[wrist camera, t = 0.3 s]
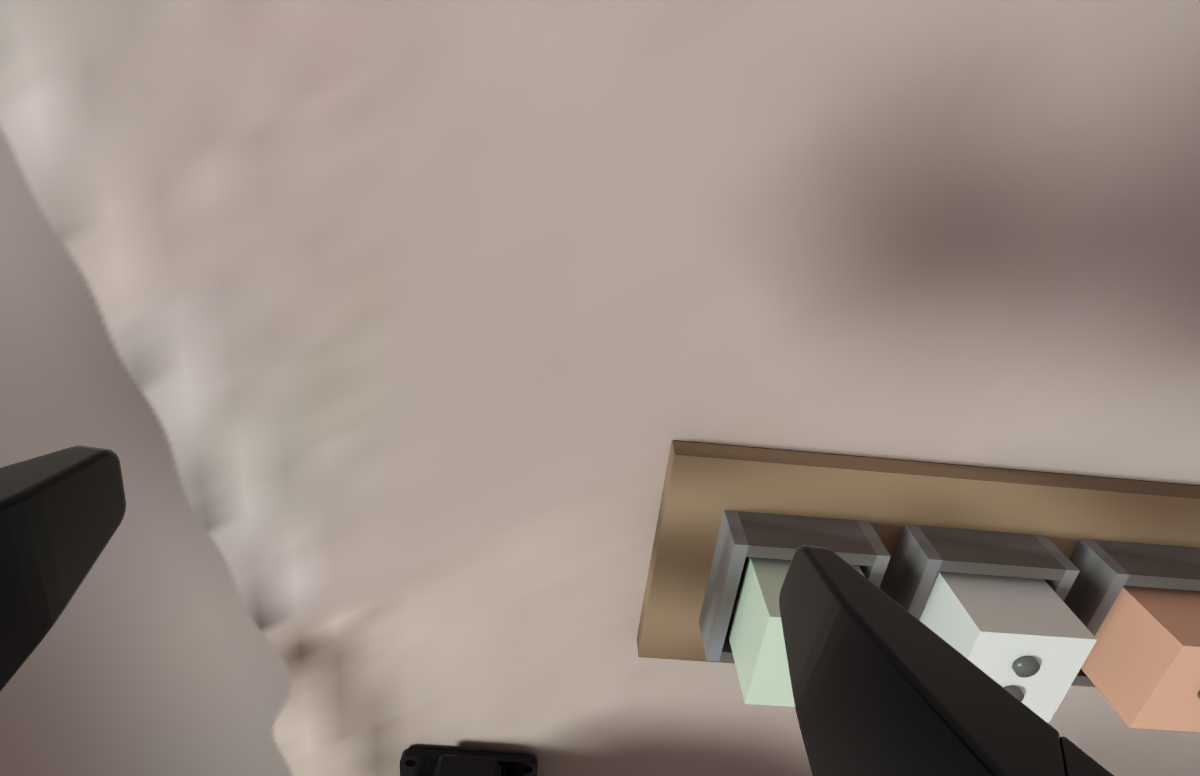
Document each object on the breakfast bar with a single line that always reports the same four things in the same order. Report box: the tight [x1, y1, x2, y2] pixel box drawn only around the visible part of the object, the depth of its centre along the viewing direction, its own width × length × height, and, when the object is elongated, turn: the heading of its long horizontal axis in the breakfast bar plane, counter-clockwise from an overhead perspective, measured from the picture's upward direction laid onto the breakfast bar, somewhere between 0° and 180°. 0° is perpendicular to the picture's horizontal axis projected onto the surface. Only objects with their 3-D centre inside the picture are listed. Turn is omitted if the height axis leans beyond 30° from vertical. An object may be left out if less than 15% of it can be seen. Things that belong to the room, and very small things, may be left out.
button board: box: [637, 441, 1200, 687], centre depth 26 cm, size 10×24×3 cm, turn 84°
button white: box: [918, 571, 1097, 723], centre depth 24 cm, size 4×4×3 cm
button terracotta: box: [1081, 585, 1200, 732], centre depth 24 cm, size 4×4×3 cm
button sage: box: [728, 557, 865, 707], centre depth 23 cm, size 4×4×3 cm
